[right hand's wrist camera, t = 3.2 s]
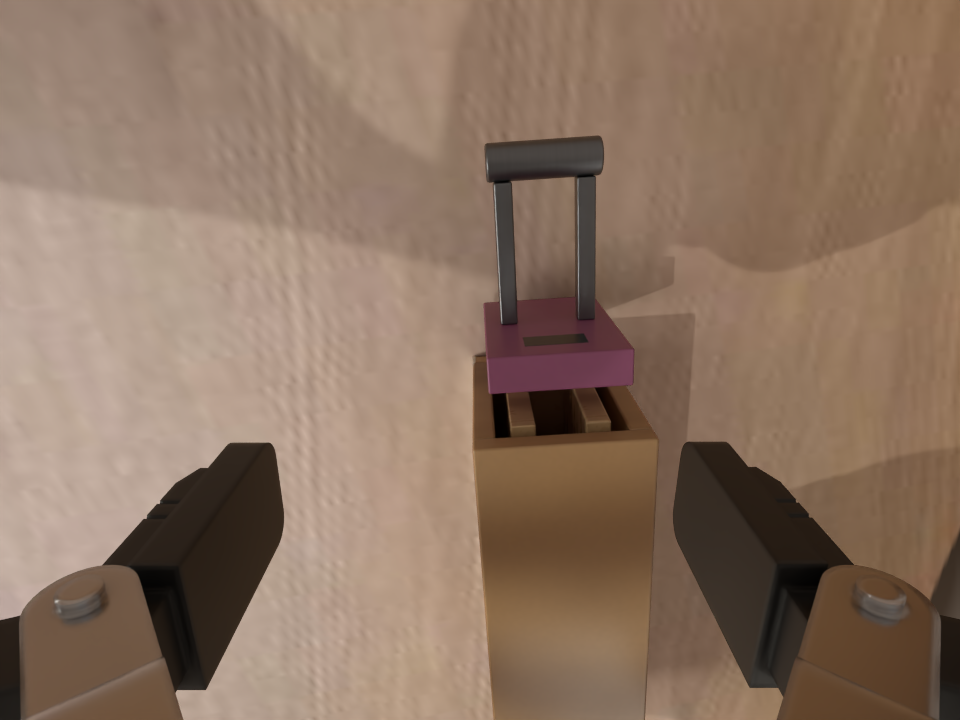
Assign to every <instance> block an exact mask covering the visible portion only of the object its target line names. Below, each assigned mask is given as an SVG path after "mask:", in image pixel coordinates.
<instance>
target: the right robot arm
mask: <svg viewBox="0 0 960 720" xmlns="http://www.w3.org/2000/svg"><path fill="white" fill-rule="evenodd" d="M673 524H674V531H675V536H676V539H677V542H678V544H679V546H680V548H681V550H682V552H683V554H684V556H685V558H686V560H687V562H688V564H689V566H690V568H691V570H692V572H693V574H694V576H695V578H696V580H697V582H698V584H699V587H700V589H701V591H702V593H703V595H704V597H705V599H706V601H707V603H708V605H709V607H710V609H711V611H712V613H713V615H714V617H715V619H716V621H717V623H718V625H719V627H720V629H721V631H722V633H723V635H724V637H725V639H726V641H727V643H728V645H729V647H730V649H731V651H732V653H733V655H734V657H735V659H736V661H737V663H738V665H739V667H740V669H741V671H742V673H743V675H744V677H745V679H746V681H747V683H748V685H749V687H750V688H779V690H780V692H781V694H782V695H783V701H782V704H781V707H780V711H779V714H778V717H777V720H960V619H955V618H951V617H946V616H942V615H939V613H938V611H937V609H936V608H935V607H934V605H933V604H932V603H931V602H930V601H929V599H928V598H927V597H925V596H924V595H923V594H922V593H921V592H920V591H918V590H917V589H915V588H914V587H913V586H911V585H910V584H908V583H906V582H904V581H903V580H901V579H899V578H897V577H895V576H893V575H890V574H888V573H885V572H882V571H879V570H876V569H873V568H868V567H864V566H857V565H854V564H853V563H852V562H851V561H850V560H849V559H848V558H847V556H846V555H845V554H844V553H843V552H842V551H841V550H840V549H839V547H838V546H837V545H836V544H835V543H834V542H833V541H832V540H831V538H830V537H829V536H828V535H827V534H826V533H825V532H824V531H823V529H822V528H821V527H820V526H819V525H818V524H817V523H816V522H815V520H814V519H813V518H809V514H808V513H807V511H806V510H805V509H804V508H803V507H802V506H801V505H800V504H799V503H796V499H795V498H794V497H793V496H792V495H791V493H790V492H789V491H788V490H787V489H786V488H785V487H784V486H783V484H782V483H781V482H780V481H778V480H776V479H775V478H773V477H772V476H770V475H768V474H767V473H765V472H763V471H762V470H760V469H759V468H757V467H748V466H747V465H746V464H745V462H744V461H743V460H742V459H741V458H740V456H739V455H738V454H737V453H736V452H735V450H734V449H733V448H732V447H731V446H730V445H729V444H728V443H727V442H686V443H685V444H684V446H683V448H682V452H681V458H680V465H679V472H678V479H677V487H676V494H675V501H674V509H673ZM283 526H284V509H283V502H282V495H281V488H280V481H279V473H278V466H277V459H276V453H275V449H274V447H273V445H272V444H271V443H230V444H228V445H227V446H226V447H225V448H224V450H223V451H222V452H221V453H220V454H219V456H218V457H217V458H216V459H215V460H214V462H213V463H212V464H211V465H210V466H209V468H200V469H198V470H196V471H195V472H193V473H191V474H190V475H188V476H187V477H185V478H183V479H182V480H180V481H178V482H177V483H176V484H175V485H174V486H173V487H172V488H171V489H170V490H169V491H168V492H167V494H166V495H165V496H164V497H163V498H162V499H161V500H160V504H157V505H156V506H155V507H154V508H153V509H152V510H151V511H150V513H149V514H148V515H147V519H143V520H142V522H141V523H140V524H139V525H138V526H137V527H136V528H135V529H134V530H133V532H132V533H131V534H130V535H129V536H128V537H127V538H126V539H125V540H124V542H123V543H122V544H121V545H120V546H119V547H118V548H117V549H116V551H115V552H114V553H113V554H112V555H111V556H110V557H109V558H108V559H107V561H106V562H105V563H104V564H103V565H102V566H96V567H92V568H87V569H84V570H81V571H77V572H75V573H72V574H70V575H67V576H65V577H63V578H61V579H59V580H57V581H56V582H54V583H52V584H50V585H49V586H47V587H46V588H45V589H43V590H42V591H40V592H39V593H38V594H37V595H36V596H35V597H33V598H32V599H31V601H30V602H29V603H28V604H27V605H26V607H25V608H24V609H23V611H22V613H21V616H17V617H13V618H9V619H4V620H0V720H183V717H182V714H181V711H180V707H179V704H178V701H177V697H176V694H175V693H176V691H177V690H206V689H207V687H208V685H209V683H210V681H211V679H212V677H213V675H214V673H215V671H216V669H217V667H218V665H219V663H220V661H221V659H222V657H223V655H224V653H225V651H226V649H227V647H228V645H229V643H230V641H231V639H232V637H233V635H234V633H235V631H236V629H237V627H238V625H239V623H240V621H241V619H242V617H243V615H244V613H245V611H246V609H247V607H248V605H249V603H250V601H251V599H252V597H253V595H254V593H255V591H256V589H257V587H258V585H259V583H260V581H261V579H262V577H263V575H264V573H265V571H266V569H267V567H268V565H269V563H270V561H271V559H272V557H273V555H274V553H275V551H276V549H277V547H278V545H279V543H280V540H281V537H282V532H283Z"/></svg>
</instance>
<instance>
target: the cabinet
mask: <svg viewBox="0 0 960 720" xmlns="http://www.w3.org/2000/svg"><path fill="white" fill-rule="evenodd" d="M594 388H595V390H596V392H597V394H598V396H599V398H600V400H601V402H602V404H603V406H604V408H605V410H606V412H607V414H608V416H609V419H610V421H611V431H609V432H592V433H576V434H560V435H543V436H527V437H511V438H506V421H505V402H504V393H497V394H489V391H488V376H487V360H486V356H481V357H476V356H473V450H472V451H473V464H474V477H475V489H476V502H477V515H478V528H479V540H480V553H481V566H482V578H483V591H484V604H485V616H486V629H487V642H488V654H489V667H490V680H491V692H492V705H493V718H494V720H645V706H646V687H647V667H648V647H649V627H650V607H651V587H652V567H653V547H654V527H655V507H656V487H657V467H658V447H659V439H658V437H657V436H656V434H655V432H654V431H653V430H652V428H651V426H650V424H649V423H648V421H647V419H646V418H645V416H644V414H643V413H642V411H641V410H640V408H639V406H638V405H637V403H636V402H635V400H634V398H633V397H632V395H631V393H630V392H629V390H628V389H627V387H626V385H625V386H609V387H594Z"/></svg>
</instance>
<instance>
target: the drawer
mask: <svg viewBox="0 0 960 720" xmlns="http://www.w3.org/2000/svg"><path fill="white" fill-rule="evenodd" d="M603 164H604V146H603V141H602V138H601V136H586V137H572V138H557V139H543V140H528V141H514V142H499V143H487V144H485V165H486V179H487V182H489V183H491V182H494V183H493V196H494V214H495V233H496V251H497V269H498V288H499V302H490V303H484V323H485V341H486V360H487V376H488V391H489V394H497V393H504V402H505V421H506V438H511V437H527V436H543V435H560V434H576V433H592V432H609V431H611V421H610V419H609V416H608V414H607V412H606V410H605V408H604V406H603V404H602V402H601V400H600V398H599V396H598V394H597V392H596V390H595V388H594V387H609V386H625V385H633V377H634V348H633V347H632V346H631V345H630V343H629V342H628V341H627V339H626V338H625V337H624V335H623V334H622V333H621V332H620V330H619V329H618V328H617V326H616V325H615V324H614V322H613V321H612V320H611V318H610V317H609V316H608V315H607V313H606V312H605V311H604V309H603V308H602V307H601V305H600V304H599V303H598V301H597V300H596V299H595V232H596V177H595V176H593V175H600V174H601V172H602V169H603ZM564 177H575V297H567V298H552V299H536V300H521V301H517V291H516V268H515V245H514V222H513V199H512V183H511V182H510V181H520V180H535V179H549V178H564Z"/></svg>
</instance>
